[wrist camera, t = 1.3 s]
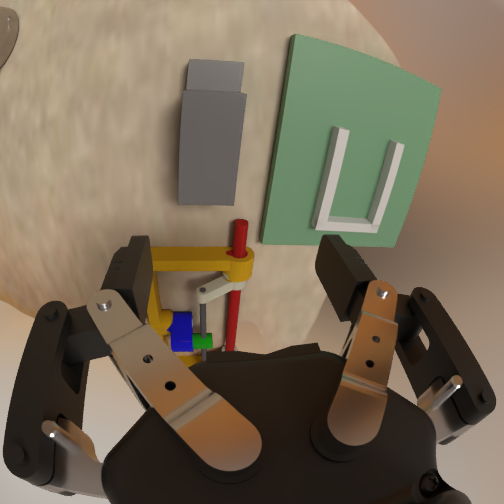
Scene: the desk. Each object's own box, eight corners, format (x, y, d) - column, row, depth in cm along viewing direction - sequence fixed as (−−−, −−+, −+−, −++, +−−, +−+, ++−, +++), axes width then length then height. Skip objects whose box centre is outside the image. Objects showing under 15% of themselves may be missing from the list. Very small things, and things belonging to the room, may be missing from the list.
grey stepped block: (228, 182, 30) (233, 205, 25) (182, 180, 29) (178, 204, 24) (241, 63, 23) (251, 59, 18) (190, 60, 22) (186, 55, 17)
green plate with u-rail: (259, 237, 35) (264, 251, 32) (291, 35, 21) (300, 31, 19) (388, 241, 39) (398, 252, 36) (434, 87, 25) (449, 90, 23)
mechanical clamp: (265, 243, 28) (241, 388, 45) (255, 214, 34) (237, 359, 50) (87, 244, 25) (138, 389, 42) (104, 215, 30) (140, 360, 47)
